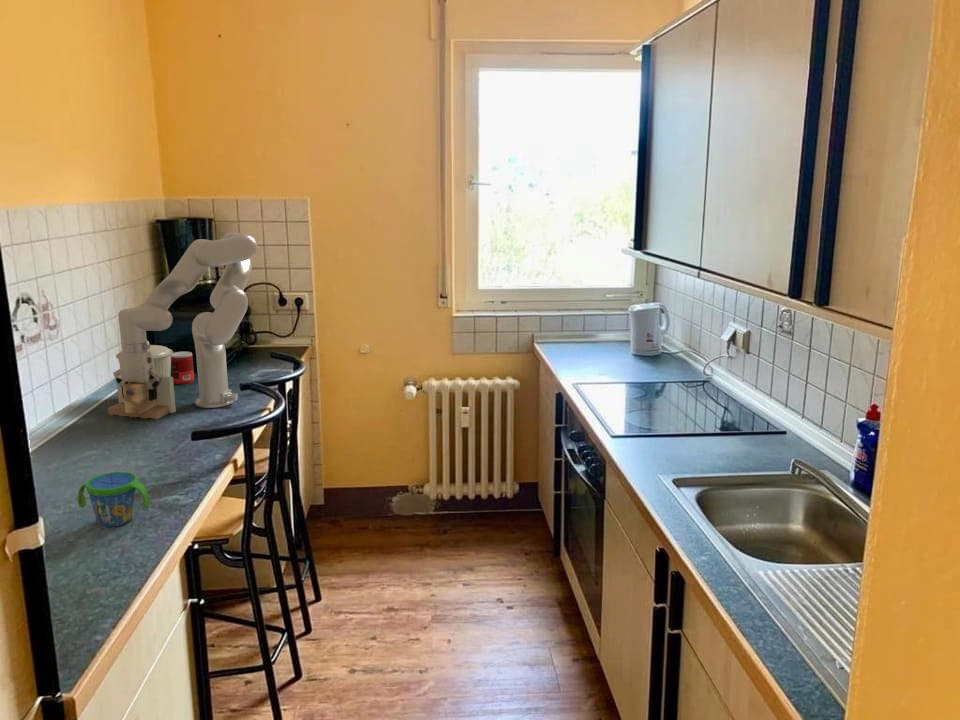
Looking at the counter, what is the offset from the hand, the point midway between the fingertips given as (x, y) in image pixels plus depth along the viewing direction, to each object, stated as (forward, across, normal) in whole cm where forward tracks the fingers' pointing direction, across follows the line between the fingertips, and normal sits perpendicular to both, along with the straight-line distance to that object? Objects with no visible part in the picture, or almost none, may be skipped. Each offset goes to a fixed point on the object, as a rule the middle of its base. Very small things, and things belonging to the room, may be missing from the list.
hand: (140, 398), depth 247 cm
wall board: (+6, +2, -3) cm, 7 cm away
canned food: (+6, +11, -40) cm, 42 cm away
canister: (+6, +10, -18) cm, 21 cm away
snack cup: (+6, -43, +68) cm, 81 cm away
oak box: (+3, 0, 0) cm, 3 cm away
